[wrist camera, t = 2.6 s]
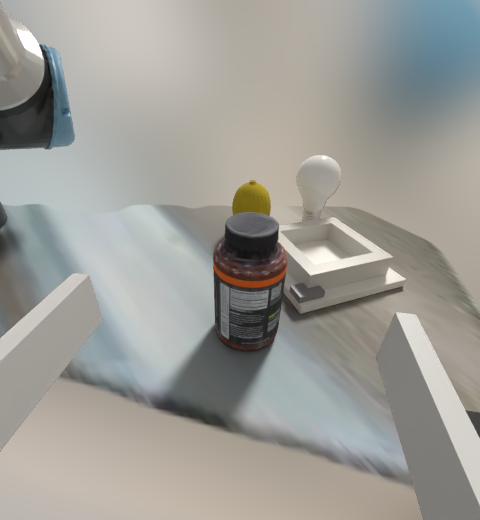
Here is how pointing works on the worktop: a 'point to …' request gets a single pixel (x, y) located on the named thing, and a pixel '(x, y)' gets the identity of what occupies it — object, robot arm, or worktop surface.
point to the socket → (332, 265)
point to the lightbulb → (317, 184)
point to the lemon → (251, 199)
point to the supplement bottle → (249, 281)
